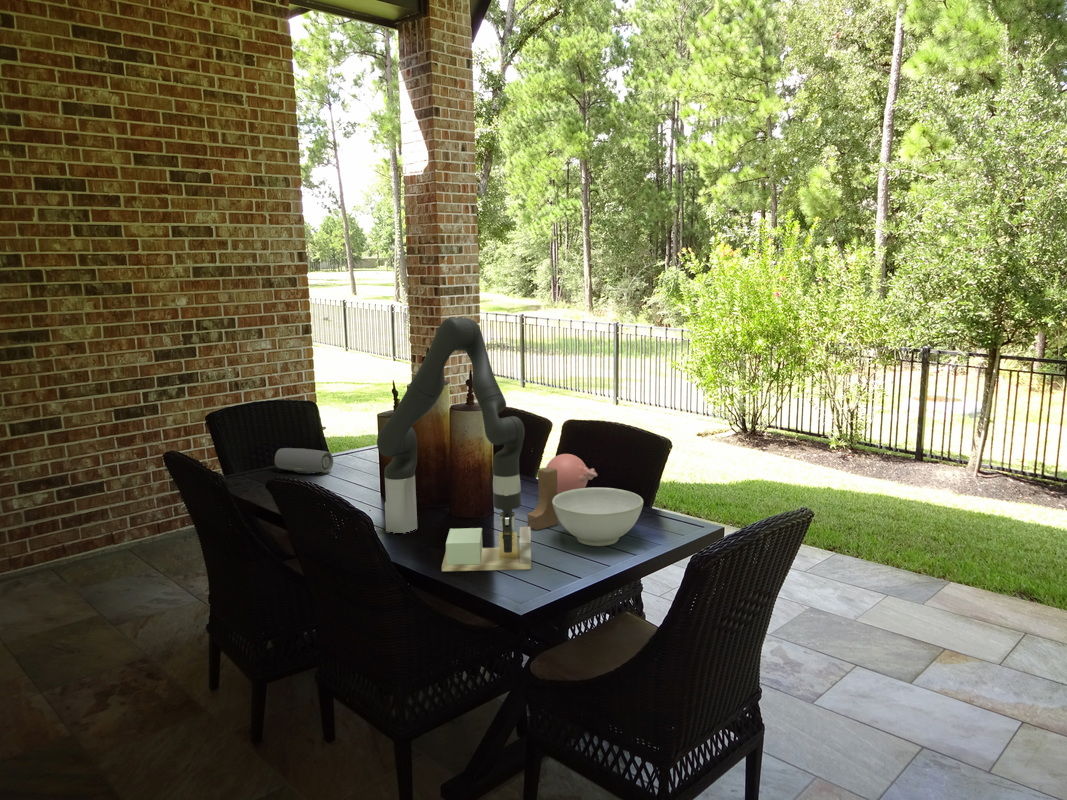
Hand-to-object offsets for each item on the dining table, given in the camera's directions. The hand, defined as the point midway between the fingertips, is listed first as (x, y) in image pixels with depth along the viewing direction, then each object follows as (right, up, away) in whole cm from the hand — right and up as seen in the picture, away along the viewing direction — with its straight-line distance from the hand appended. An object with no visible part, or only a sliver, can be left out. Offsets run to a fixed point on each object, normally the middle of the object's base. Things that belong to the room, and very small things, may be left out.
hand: (508, 546), depth 214 cm
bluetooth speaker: (-86, +11, +101) cm, 133 cm away
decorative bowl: (+26, -1, +17) cm, 31 cm away
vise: (-6, -4, +1) cm, 7 cm away
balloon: (+20, +6, +59) cm, 63 cm away
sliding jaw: (-12, -3, 0) cm, 12 cm away
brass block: (0, -3, 0) cm, 3 cm away
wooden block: (+10, +1, +29) cm, 31 cm away
